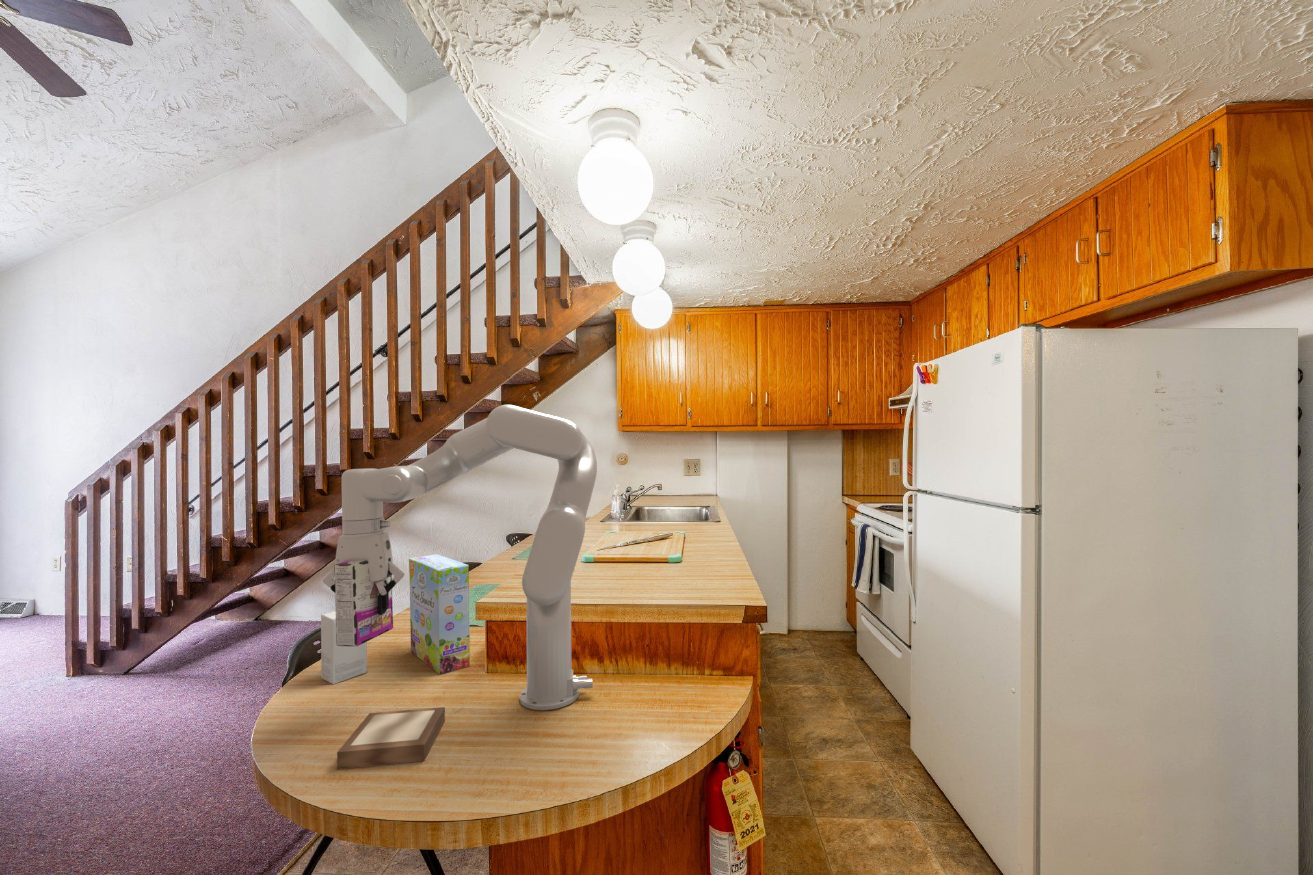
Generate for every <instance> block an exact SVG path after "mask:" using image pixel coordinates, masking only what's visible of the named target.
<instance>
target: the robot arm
mask: <svg viewBox="0 0 1313 875" xmlns="http://www.w3.org/2000/svg"><path fill="white" fill-rule="evenodd" d="M513 449H515V450H516V449H517V450H520V451H524V452H529V453H532V454H536V455H541V456H544V457H547V458H550V459H554V460H555V459H556V460H557V462H558V463H557V464H558V471H557V476H556V478H555V483H554V486H553V490H552V493H551V496H550V498H549V502H548V505H547V508H546V509H545V511H544V513H543V514H542V516H541V518H540V520H539V521H538V522H539V523H538V524H537V529H536V531H535V535H534V539H533V542H532V545H531V549H530V552H529V554H528V557H527V561H526V564H525V566H524V567H525V568H524V569H523V570H524V571H523V574H522V578H521V586H522V587H521V588H522V591H523V593H524V595H525V596H526V687H525V688H523V690H521V692H520V693H519V704H520V705H522V706H523V707H525V708H527V709H530V710H534V711H550V710H556V709H560V708H564V707H566V706H569V705H570V704H572V703H574V702H575V701H577V699H578V698H579V696H580V689H593V688H594V686H593V685H594V684H593V677H592V678H588V675H580V676H577V675H576V674H575V675H574V669H572V577H573V574H574V571H575V567H576V565H577V562H578V558H579V555H580V550H581V549H582V546H583V542H584V537H585V534H586V533H585V532H586V518H587V513H588V509H589V506H590V502H591V499H592V495H593V492H594V491H593V490H594V488H595V485H596V484H595V483H596V478H597V472H598V463H597V456H596V453H595V449H594V448H593V445H592V443H591V442H590V441H589V439H588V438H587V436H586V435H585V434H583V432H581V429H580V427H579V426H578V425H577V424H576V423H574V421H571V420H569V419H565V418H562V417H559V416H556V415H555V416H554V415H551V414H547V413H543V412H539V411H535V410H532V409H528V408H526V407H525V408H524V407H521V406H518V405H513V404H503V405H499V406H497V407H495V408H494V409H492V410H491V412H489V414H488V416H487V417H486V418H484V419H482V420H480V421H478V422H476V423H474V424H472V425H470V426H468V427H466V428H464V429H462V430H460V431H457V432H455V433H453V434H452V435H451V436H449V437H448V438H447V439H446V441H445V443H444V444H442V446H441V447H439V448H438V449H437V450H435V451H434V452H431V453H429V454H428V455H426V456H425V457H423V458H420V459H418V460H415V462H412V463H411V464H410V463H409V465H396V466H395V465H394V466H389V467H384V468H373V467H372V468H352V469H346V470H345V471H343V472H342V474H341V515H342V516H341V517H342V518H341V524H342V535H340V536H338V541H337V546H336V553H335V560H334V565H335V564H338V563H342V562H348V561H365V560H367V561H368V565H369V575H370V582H372V583H374V582H375V583H376V585H377V587H378V590H379V592H380V595H379V596H378V614H379V615H382V614H384V613H385V612H386V611H387V609H388V608H389V591H391V589H392V590H393V588H394V587H395V586H396V585H397V584H398V583H399V582H400V581H401V580H402V579H403V578H404V577H405V573H404V571H402V570H401V569H400V568H399V567H398V566H396V564H394V558H393V553H392V552H393V551H392V544H391V539H390V534H389V532H388V531H384V530H385V529H386V528H390V527H391V521H390V520H386V519H385V517H384V503H395V504H397V503H403V502H407V501H409V500H415V499H417V498H418V499H419V497H422V496H424V495H426V494H427V493H430V492H431V491H433V490H435V489H438V488H439V487H441V486H443V485H445V484H447V483H449V482H451V481H452V480H454V479H456V478H458V477H460V476H462V475H465V474H467V473H469V472H470V471H472V470H475V469H477V467H480V466H483V464H485V463H487V462H489V461H491V460H493V459H495V458H497V457H499V456H500V455H503V454H505V453H507V452H509V451H511V450H513ZM390 576H393V578H392V580H391V581H390V582H389V583H388V581H387V579H386V578H388V577H390ZM322 582H323V584H324V585H325V586H327V588H329V589H330V590H331V591H332V592H333V593H334V594H335V571H334V568H333V569H332V570H331V571H330V572H329V573H328V574H327V575H326V576H325V577H324V578H323V579H322Z"/></svg>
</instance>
